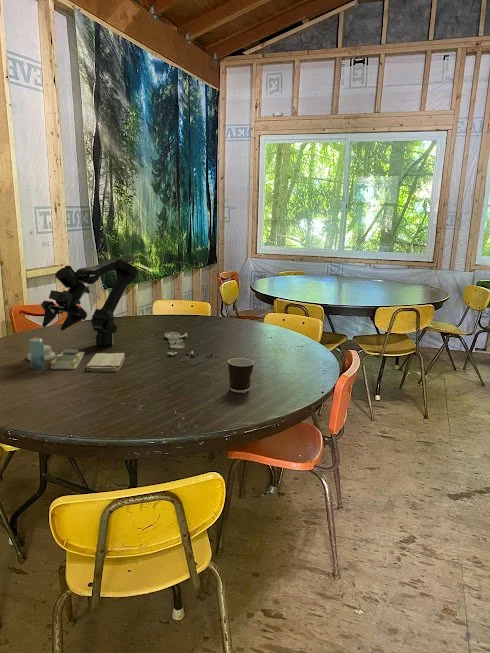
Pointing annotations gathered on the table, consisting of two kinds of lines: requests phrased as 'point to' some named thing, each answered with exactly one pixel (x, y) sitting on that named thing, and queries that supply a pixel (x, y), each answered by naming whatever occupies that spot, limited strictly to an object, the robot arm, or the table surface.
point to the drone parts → (175, 341)
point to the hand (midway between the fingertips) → (52, 328)
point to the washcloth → (106, 362)
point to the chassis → (67, 359)
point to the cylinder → (36, 353)
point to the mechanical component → (46, 353)
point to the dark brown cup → (240, 373)
